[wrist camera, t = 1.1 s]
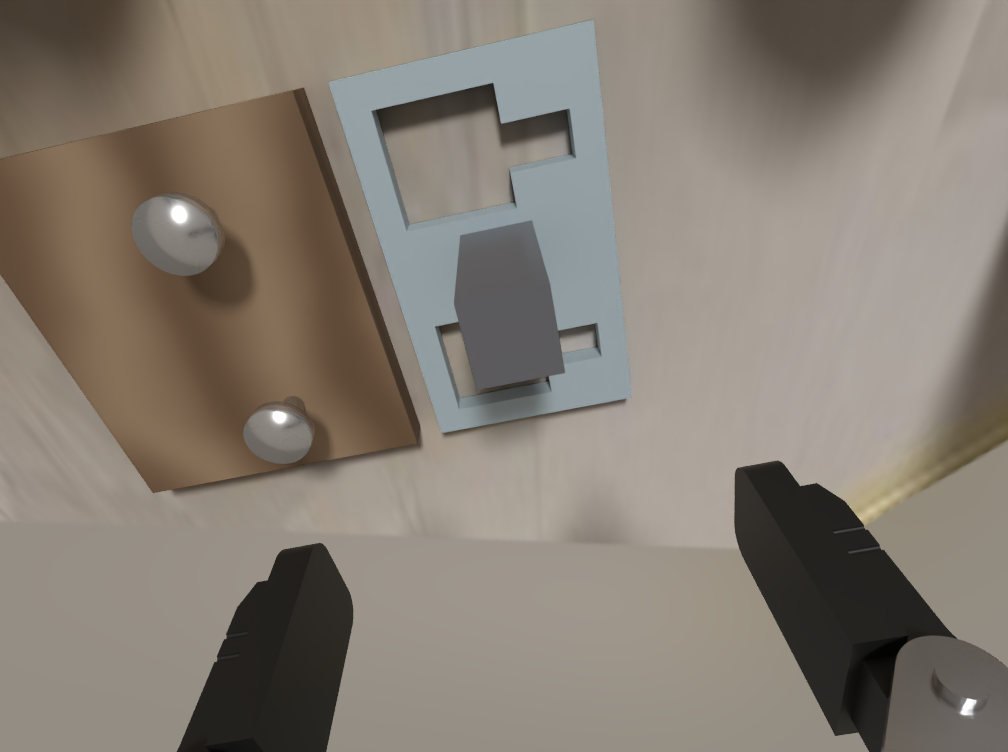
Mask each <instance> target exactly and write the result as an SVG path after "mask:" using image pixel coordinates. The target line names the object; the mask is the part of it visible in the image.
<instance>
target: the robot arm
mask: <svg viewBox="0 0 1008 752" xmlns="http://www.w3.org/2000/svg"><path fill="white" fill-rule="evenodd" d="M734 524H735V533H736V538H737V542H738V545H739V549H740V551H741V554H742V556H743V558H744V560H745V562H746V564H747V566H748V568H749V570H750V572H751V574H752V576H753V578H754V580H755V581H756V583H757V586H758V587H759V589H760V591H761V593H762V595H763V597H764V599H765V601H766V603H767V605H768V607H769V609H770V611H771V612H772V614H773V616H774V618H775V620H776V622H777V624H778V626H779V628H780V630H781V632H782V634H783V636H784V637H785V640H786V641H787V643H788V645H789V647H790V649H791V651H792V653H793V655H794V657H795V659H796V661H797V663H798V665H799V667H800V668H801V670H802V672H803V674H804V676H805V678H806V680H807V682H808V684H809V686H810V688H811V690H812V691H813V693H814V696H815V697H816V699H817V701H818V703H819V705H820V707H821V709H822V711H823V713H824V715H825V717H826V719H827V721H828V723H829V724H830V726H831V728H832V730H833V732H834V734H835V736H838V735H844V734H851V733H858V732H859V734H860V736H861V738H862V739H863V741H864V743H865V745H866V747H867V748H868V750H869V752H1008V668H1007V667H1006V666H1005V665H1004V664H1003V663H1002V662H1000V661H999V660H998V659H997V658H995V657H994V656H992V655H991V654H989V653H987V652H986V651H984V650H982V649H981V648H979V647H977V646H975V645H972V644H970V643H967V642H965V641H962V640H958V639H957V638H956V637H955V636H954V635H952V633H951V632H950V631H949V630H948V629H947V628H946V627H945V626H944V625H943V623H942V622H941V621H940V619H939V618H938V617H937V616H936V615H935V613H934V612H933V611H932V610H931V608H930V607H929V606H928V605H927V603H926V602H925V601H924V600H923V598H922V597H921V596H920V595H919V593H918V592H917V591H916V589H915V588H914V587H913V586H912V585H911V583H910V582H909V581H908V580H907V579H906V577H905V576H904V575H903V573H902V572H901V571H900V570H899V568H898V567H897V566H896V565H895V563H894V562H893V561H892V560H891V558H890V557H889V556H888V555H887V553H886V552H885V551H884V550H881V549H880V545H879V543H878V542H877V541H876V540H875V538H874V537H873V536H872V535H871V533H870V532H869V531H868V530H865V528H864V525H863V523H862V522H861V521H860V520H859V518H858V517H857V516H856V515H855V513H854V512H853V511H852V510H851V508H850V507H849V506H848V505H847V503H846V502H845V501H844V500H842V499H840V498H839V497H837V496H836V495H834V494H833V493H831V492H830V491H828V490H827V489H825V488H823V487H822V486H820V485H819V484H817V483H816V484H810V485H805V486H799V484H798V483H797V481H796V480H795V479H794V477H793V476H792V475H791V473H790V472H789V470H788V469H787V468H786V466H785V465H784V464H783V463H782V462H780V461H773V462H767V463H762V464H756V465H751V466H745V467H740V468H737V469H736V472H735V519H734ZM352 624H353V604H352V599H351V595H350V592H349V590H348V588H347V587H346V584H345V582H344V581H343V579H342V577H341V575H340V573H339V571H338V569H337V567H336V565H335V563H334V561H333V559H332V558H331V556H330V554H329V552H328V550H327V548H326V547H325V546H324V545H323V544H321V543H318V544H312V545H306V546H301V547H295V548H290V549H284V550H282V551H281V552H280V553H279V554H278V556H277V558H276V560H275V563H274V565H273V568H272V570H271V574H270V576H269V578H268V580H267V581H262V582H257V583H256V585H255V586H254V587H253V588H252V590H251V591H250V592H249V594H248V595H247V596H246V597H245V599H244V600H243V601H242V602H241V603H240V605H239V606H238V607H237V609H236V612H235V614H234V617H233V619H232V622H231V624H230V626H229V629H228V631H227V633H226V635H227V639H225V640H224V641H223V643H222V646H221V648H220V650H219V653H218V655H217V658H218V660H217V662H215V663H214V665H213V667H212V670H211V672H210V674H209V677H208V679H207V681H206V684H205V686H204V689H203V691H202V693H201V696H200V698H199V701H198V703H197V706H196V708H195V710H194V713H193V715H192V718H191V720H190V723H189V725H188V727H187V729H186V732H185V735H184V737H183V739H182V742H181V744H180V746H179V748H178V750H177V752H326V750H327V745H328V740H329V735H330V730H331V725H332V721H333V716H334V711H335V706H336V701H337V696H338V692H339V687H340V682H341V678H342V672H343V668H344V663H345V658H346V653H347V649H348V643H349V639H350V634H351V629H352Z"/></svg>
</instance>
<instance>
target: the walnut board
mask: <svg viewBox="0 0 1008 752" xmlns="http://www.w3.org/2000/svg"><path fill="white" fill-rule="evenodd" d="M0 275H1V276H2V277H3V279H4V280H5V282H6V283H7V285H8V286H9V287H10V289H11V290H12V292H13V293H14V295H15V296H16V297H17V299H18V300H19V302H20V303H21V305H22V306H23V307H24V309H25V310H26V312H27V313H28V315H29V316H30V317H31V319H32V320H33V322H34V323H35V325H36V326H37V327H38V329H39V330H40V332H41V333H42V335H43V336H44V338H45V339H46V340H47V342H48V343H49V345H50V346H51V348H52V349H53V350H54V352H55V353H56V355H57V356H58V358H59V359H60V360H61V362H62V363H63V365H64V366H65V368H66V369H67V370H68V372H69V373H70V375H71V376H72V378H73V379H74V380H75V382H76V383H77V385H78V386H79V388H80V389H81V390H82V392H83V393H84V395H85V396H86V398H87V399H88V401H89V402H90V403H91V405H92V406H93V408H94V409H95V411H96V412H97V413H98V415H99V416H100V418H101V419H102V421H103V422H104V423H105V425H106V426H107V428H108V429H109V431H110V432H111V433H112V435H113V436H114V438H115V439H116V441H117V442H118V443H119V445H120V446H121V448H122V449H123V451H124V452H125V454H126V455H127V456H128V458H129V459H130V461H131V462H132V464H133V465H134V466H135V468H136V469H137V471H138V472H139V474H140V475H141V476H142V478H143V479H144V481H145V482H146V484H147V485H148V486H149V488H150V489H151V491H152V492H153V493H155V492H161V491H166V490H171V489H177V488H182V487H188V486H193V485H198V484H204V483H209V482H214V481H220V480H225V479H230V478H236V477H241V476H247V475H252V474H257V473H263V472H268V471H273V470H279V469H284V468H289V467H295V466H300V465H306V464H311V463H316V462H322V461H327V460H332V459H338V458H343V457H348V456H354V455H359V454H365V453H370V452H375V451H381V450H386V449H391V448H397V447H402V446H408V445H413V444H417V443H418V437H419V430H420V424H419V421H418V418H417V415H416V412H415V409H414V407H413V404H412V401H411V398H410V395H409V392H408V389H407V386H406V383H405V380H404V378H403V375H402V372H401V369H400V366H399V363H398V360H397V357H396V354H395V351H394V348H393V346H392V343H391V340H390V337H389V334H388V331H387V328H386V325H385V322H384V319H383V317H382V314H381V311H380V308H379V305H378V302H377V299H376V296H375V293H374V290H373V287H372V285H371V282H370V279H369V276H368V273H367V270H366V267H365V264H364V261H363V258H362V256H361V253H360V250H359V247H358V244H357V241H356V238H355V235H354V232H353V229H352V226H351V224H350V221H349V218H348V215H347V212H346V209H345V206H344V203H343V200H342V197H341V195H340V192H339V189H338V186H337V183H336V180H335V177H334V174H333V171H332V168H331V165H330V163H329V160H328V157H327V154H326V151H325V148H324V145H323V142H322V139H321V136H320V134H319V131H318V128H317V125H316V122H315V119H314V116H313V113H312V110H311V107H310V104H309V102H308V99H307V96H306V93H305V90H304V88H300V89H296V90H292V91H287V92H283V93H279V94H275V95H270V96H266V97H262V98H258V99H253V100H249V101H245V102H241V103H236V104H232V105H228V106H224V107H219V108H215V109H211V110H206V111H202V112H198V113H194V114H189V115H185V116H181V117H177V118H172V119H168V120H164V121H160V122H155V123H151V124H147V125H143V126H138V127H134V128H130V129H126V130H121V131H117V132H113V133H109V134H104V135H100V136H96V137H92V138H87V139H83V140H79V141H75V142H70V143H66V144H62V145H58V146H53V147H49V148H45V149H41V150H36V151H32V152H28V153H24V154H19V155H15V156H11V157H7V158H2V159H0Z"/></svg>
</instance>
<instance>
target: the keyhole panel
mask: <svg viewBox="0 0 1008 752" xmlns="http://www.w3.org/2000/svg"><path fill="white" fill-rule="evenodd" d="M328 83H329V86H330V89H331V92H332V95H333V98H334V102H335V105H336V108H337V111H338V114H339V117H340V120H341V123H342V126H343V129H344V133H345V136H346V139H347V142H348V145H349V148H350V151H351V154H352V157H353V160H354V164H355V167H356V170H357V173H358V176H359V179H360V182H361V185H362V188H363V191H364V194H365V198H366V201H367V204H368V207H369V210H370V213H371V216H372V219H373V222H374V225H375V229H376V232H377V235H378V238H379V241H380V244H381V247H382V250H383V253H384V256H385V260H386V263H387V266H388V269H389V272H390V275H391V278H392V281H393V284H394V287H395V291H396V294H397V297H398V300H399V303H400V306H401V309H402V312H403V315H404V318H405V322H406V325H407V328H408V331H409V334H410V337H411V340H412V343H413V346H414V349H415V353H416V356H417V359H418V362H419V365H420V368H421V371H422V374H423V377H424V380H425V383H426V387H427V390H428V393H429V396H430V399H431V402H432V405H433V408H434V411H435V414H436V418H437V421H438V424H439V427H440V430H441V433H445V432H451V431H456V430H461V429H467V428H472V427H477V426H483V425H488V424H493V423H499V422H504V421H509V420H515V419H520V418H525V417H531V416H536V415H541V414H547V413H552V412H557V411H563V410H568V409H573V408H579V407H584V406H590V405H595V404H600V403H606V402H611V401H616V400H622V399H627V398H632V393H631V383H630V374H629V364H628V354H627V344H626V334H625V325H624V315H623V305H622V295H621V285H620V276H619V266H618V256H617V246H616V236H615V227H614V217H613V207H612V197H611V187H610V178H609V168H608V158H607V148H606V138H605V129H604V119H603V109H602V99H601V90H600V80H599V70H598V60H597V50H596V41H595V31H594V21H593V20H590V21H585V22H581V23H577V24H572V25H568V26H564V27H560V28H555V29H551V30H547V31H543V32H538V33H534V34H530V35H526V36H521V37H517V38H513V39H509V40H504V41H500V42H496V43H492V44H487V45H483V46H479V47H474V48H470V49H466V50H462V51H457V52H453V53H449V54H445V55H440V56H436V57H432V58H428V59H423V60H419V61H415V62H411V63H406V64H402V65H398V66H394V67H389V68H385V69H381V70H377V71H372V72H368V73H364V74H360V75H355V76H351V77H347V78H343V79H338V80H334V81H331V82H328ZM490 83H493V84H494V90H495V95H496V100H497V106H498V111H499V116H500V121H501V124H503V123H507V122H511V121H516V120H520V119H525V118H529V117H534V116H538V115H543V114H547V113H551V112H556V111H560V110H565V109H567V116H568V123H569V131H570V139H571V146H572V154H570V155H565V156H560V157H556V158H551V159H547V160H542V161H538V162H533V163H528V164H524V165H519V166H515V167H510V168H509V169H510V174H511V180H512V185H513V190H514V196H515V201H516V202H513V203H509V204H504V205H499V206H495V207H490V208H485V209H481V210H476V211H471V212H467V213H462V214H457V215H453V216H448V217H443V218H439V219H434V220H429V221H425V222H420V223H415V224H411V225H409V222H408V219H407V215H406V212H405V208H404V205H403V201H402V198H401V194H400V191H399V188H398V184H397V181H396V177H395V174H394V170H393V167H392V163H391V160H390V157H389V153H388V150H387V146H386V143H385V139H384V136H383V132H382V129H381V126H380V122H379V119H378V115H377V112H376V110H377V109H381V108H386V107H390V106H394V105H399V104H403V103H407V102H412V101H416V100H420V99H425V98H429V97H433V96H438V95H442V94H446V93H451V92H455V91H460V90H464V89H468V88H473V87H477V86H481V85H486V84H490ZM455 322H459V325H460V329H461V333H462V337H463V340H464V344H465V348H466V351H467V355H468V359H469V363H470V366H471V370H472V374H473V377H474V381H475V385H476V389H477V390H480V389H485V388H490V387H495V386H501V385H506V384H511V383H516V382H522V381H527V380H532V379H537V378H542V377H548V376H549V381H548V382H542V383H537V384H532V385H527V386H521V387H516V388H511V389H506V390H501V391H495V392H490V393H485V394H480V395H474V396H469V397H464V398H460V397H459V394H458V391H457V387H456V384H455V380H454V377H453V373H452V370H451V367H450V363H449V360H448V356H447V353H446V349H445V346H444V342H443V339H442V336H441V332H440V329H439V326H440V325H445V324H450V323H455ZM594 323H595V328H596V336H597V343H598V347H595V348H590V349H584V350H579V351H574V352H569V353H564V354H562V351H561V345H560V339H559V333H558V331H559V330H564V329H569V328H574V327H579V326H584V325H589V324H594Z"/></svg>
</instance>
